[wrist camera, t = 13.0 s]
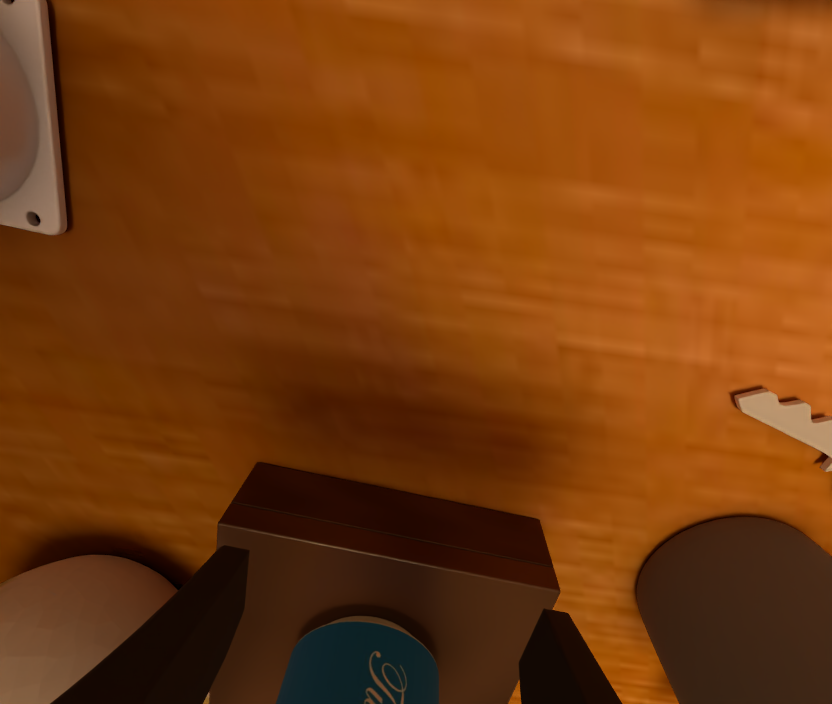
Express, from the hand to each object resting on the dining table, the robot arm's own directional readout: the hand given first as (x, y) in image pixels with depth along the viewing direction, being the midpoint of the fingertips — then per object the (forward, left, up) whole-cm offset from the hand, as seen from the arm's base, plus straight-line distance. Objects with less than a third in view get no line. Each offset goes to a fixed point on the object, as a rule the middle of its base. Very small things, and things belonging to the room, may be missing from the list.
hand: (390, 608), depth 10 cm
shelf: (0, -10, -9) cm, 14 cm away
